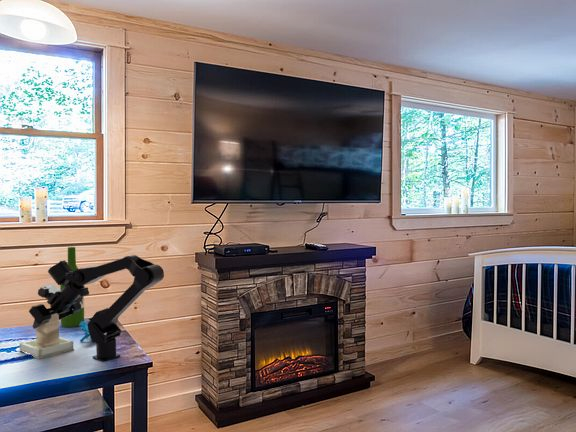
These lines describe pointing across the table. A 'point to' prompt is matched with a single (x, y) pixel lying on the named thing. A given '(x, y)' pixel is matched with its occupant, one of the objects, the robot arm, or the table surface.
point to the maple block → (48, 333)
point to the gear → (84, 328)
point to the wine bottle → (78, 316)
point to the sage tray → (48, 351)
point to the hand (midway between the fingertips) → (43, 324)
